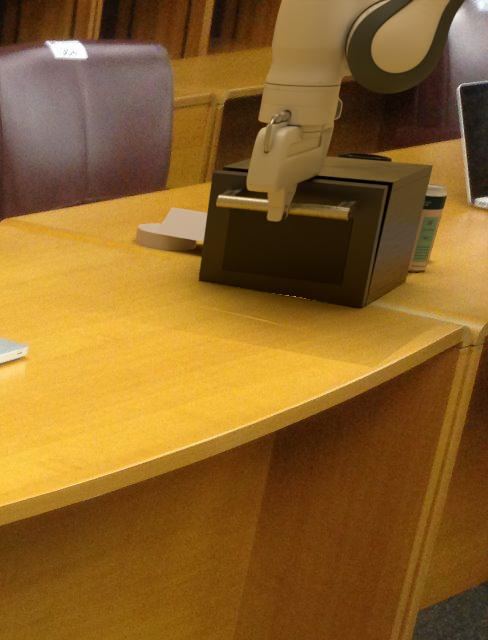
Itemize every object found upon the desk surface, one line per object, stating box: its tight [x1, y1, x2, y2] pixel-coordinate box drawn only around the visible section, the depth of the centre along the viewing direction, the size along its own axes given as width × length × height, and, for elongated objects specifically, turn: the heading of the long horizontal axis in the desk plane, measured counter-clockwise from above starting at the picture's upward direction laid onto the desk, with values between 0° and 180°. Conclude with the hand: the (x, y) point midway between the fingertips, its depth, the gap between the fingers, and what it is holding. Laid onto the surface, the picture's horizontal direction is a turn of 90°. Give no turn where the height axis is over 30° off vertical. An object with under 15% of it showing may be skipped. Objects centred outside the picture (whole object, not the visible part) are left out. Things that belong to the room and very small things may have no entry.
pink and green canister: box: [408, 183, 448, 273], centre depth 223 cm, size 5×5×12 cm
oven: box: [222, 155, 434, 307], centre depth 215 cm, size 20×22×16 cm
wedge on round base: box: [134, 206, 207, 251], centre depth 236 cm, size 9×7×13 cm
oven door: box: [198, 169, 388, 309], centre depth 205 cm, size 6×22×16 cm, turn 50°
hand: (276, 220), depth 200 cm, fingers closed
